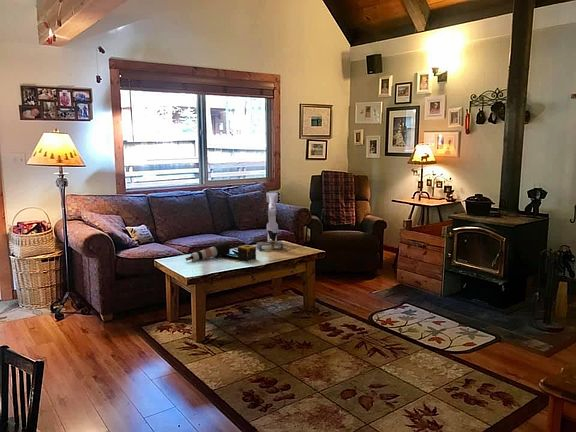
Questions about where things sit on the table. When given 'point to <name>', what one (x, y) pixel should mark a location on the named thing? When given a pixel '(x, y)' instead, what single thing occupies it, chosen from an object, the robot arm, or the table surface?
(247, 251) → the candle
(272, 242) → the peg
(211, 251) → the white black cylinder
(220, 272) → the table surface
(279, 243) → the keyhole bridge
